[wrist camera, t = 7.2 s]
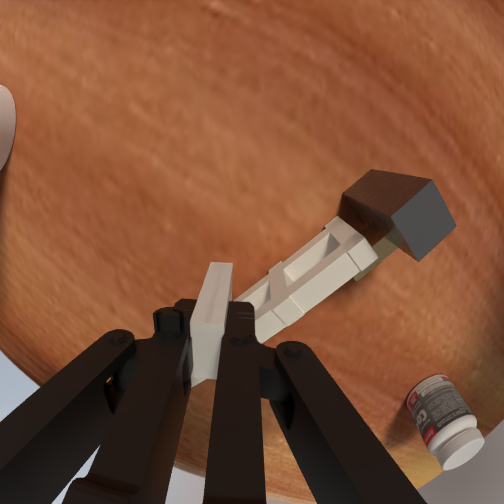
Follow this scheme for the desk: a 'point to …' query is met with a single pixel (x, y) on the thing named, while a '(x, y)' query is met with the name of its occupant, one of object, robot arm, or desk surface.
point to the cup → (6, 124)
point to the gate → (306, 278)
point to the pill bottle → (444, 421)
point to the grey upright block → (399, 214)
